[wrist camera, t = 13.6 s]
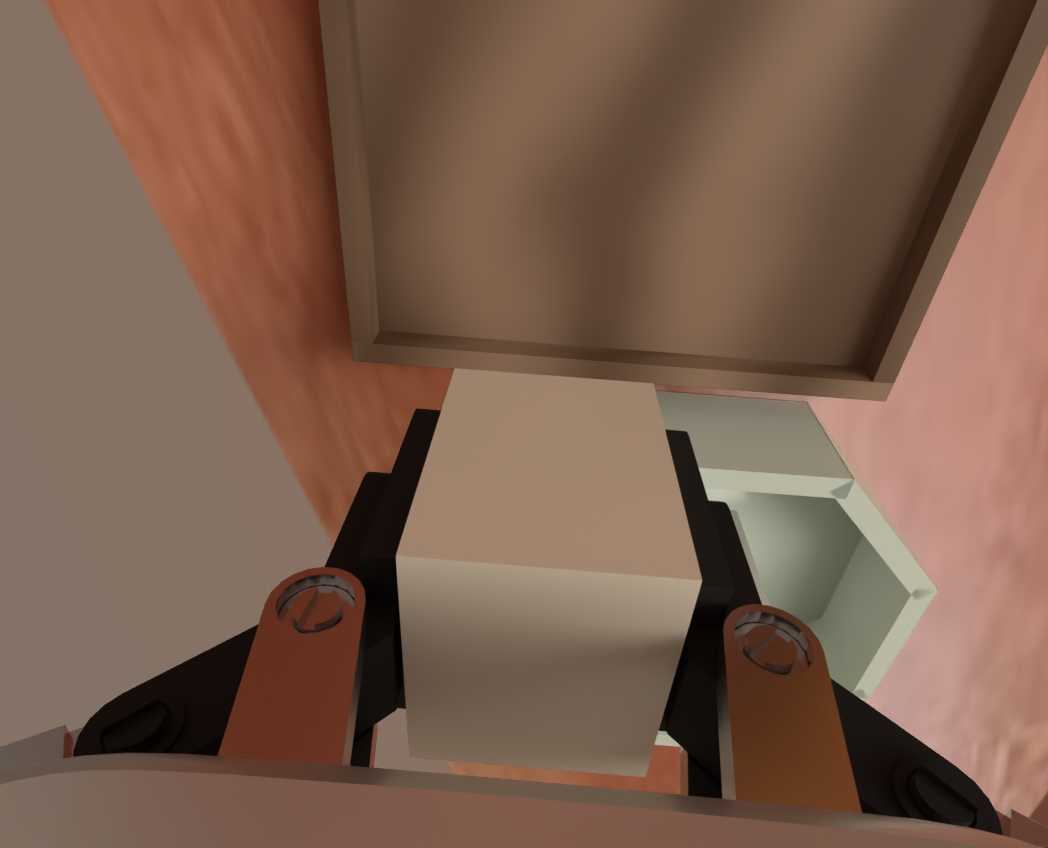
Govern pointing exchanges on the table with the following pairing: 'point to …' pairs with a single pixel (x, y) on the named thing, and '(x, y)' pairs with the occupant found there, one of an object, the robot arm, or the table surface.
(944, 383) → the table surface
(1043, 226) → the table surface
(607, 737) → the beige upright box
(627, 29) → the walnut tray
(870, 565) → the celadon bowl
